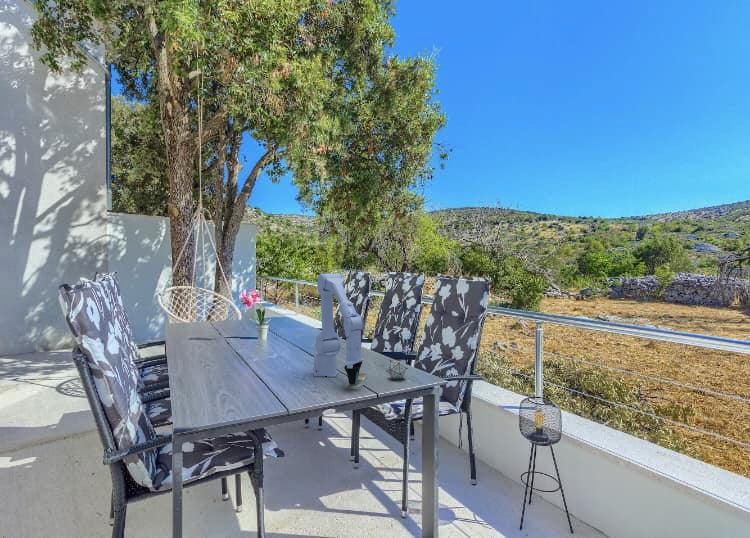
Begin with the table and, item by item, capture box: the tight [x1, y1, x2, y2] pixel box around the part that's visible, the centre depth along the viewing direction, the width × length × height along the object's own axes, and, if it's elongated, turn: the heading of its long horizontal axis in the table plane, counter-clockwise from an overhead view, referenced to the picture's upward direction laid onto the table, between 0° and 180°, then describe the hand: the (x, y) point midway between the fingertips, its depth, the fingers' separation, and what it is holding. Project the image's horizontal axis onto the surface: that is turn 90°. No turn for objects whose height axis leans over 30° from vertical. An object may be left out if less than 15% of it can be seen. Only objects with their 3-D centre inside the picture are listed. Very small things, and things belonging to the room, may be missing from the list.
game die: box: [385, 358, 409, 381], centre depth 166 cm, size 9×8×10 cm
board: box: [344, 372, 369, 390], centre depth 162 cm, size 6×18×1 cm, turn 172°
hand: (353, 382), depth 155 cm, fingers open, 4 cm apart
